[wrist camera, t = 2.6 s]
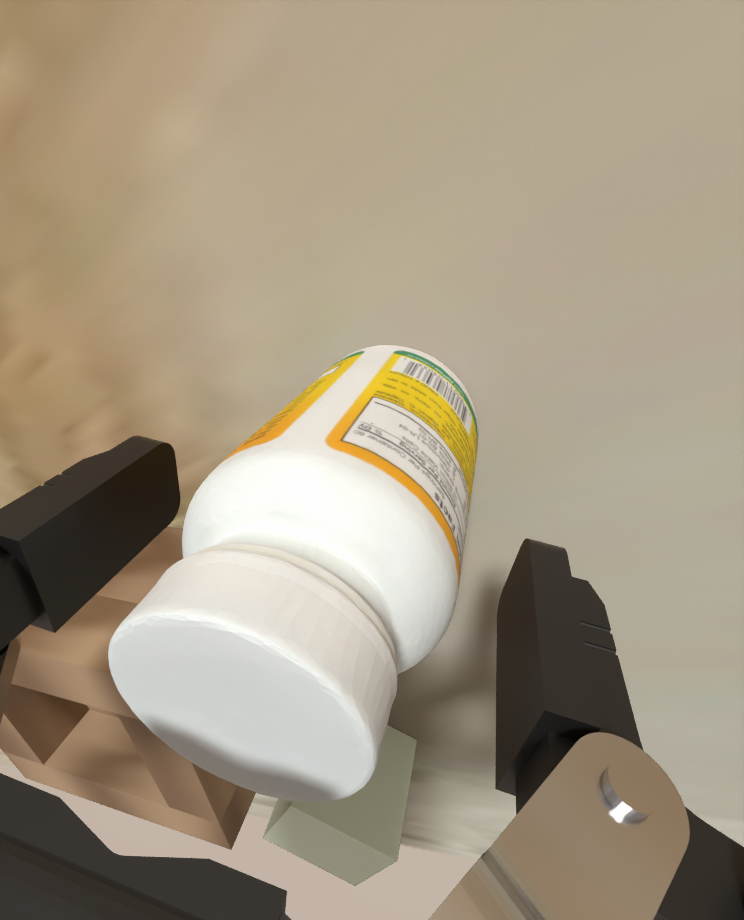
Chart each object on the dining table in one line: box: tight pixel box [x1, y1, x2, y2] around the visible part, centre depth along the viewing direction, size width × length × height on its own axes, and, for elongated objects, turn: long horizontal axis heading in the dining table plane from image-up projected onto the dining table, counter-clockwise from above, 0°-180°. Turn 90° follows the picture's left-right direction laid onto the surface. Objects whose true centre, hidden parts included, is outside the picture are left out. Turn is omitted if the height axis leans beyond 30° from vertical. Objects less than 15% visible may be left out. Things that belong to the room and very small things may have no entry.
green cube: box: [263, 725, 417, 886], centre depth 22 cm, size 5×5×5 cm
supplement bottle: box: [108, 345, 479, 802], centre depth 10 cm, size 5×5×10 cm
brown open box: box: [0, 527, 256, 849], centre depth 19 cm, size 11×11×6 cm
